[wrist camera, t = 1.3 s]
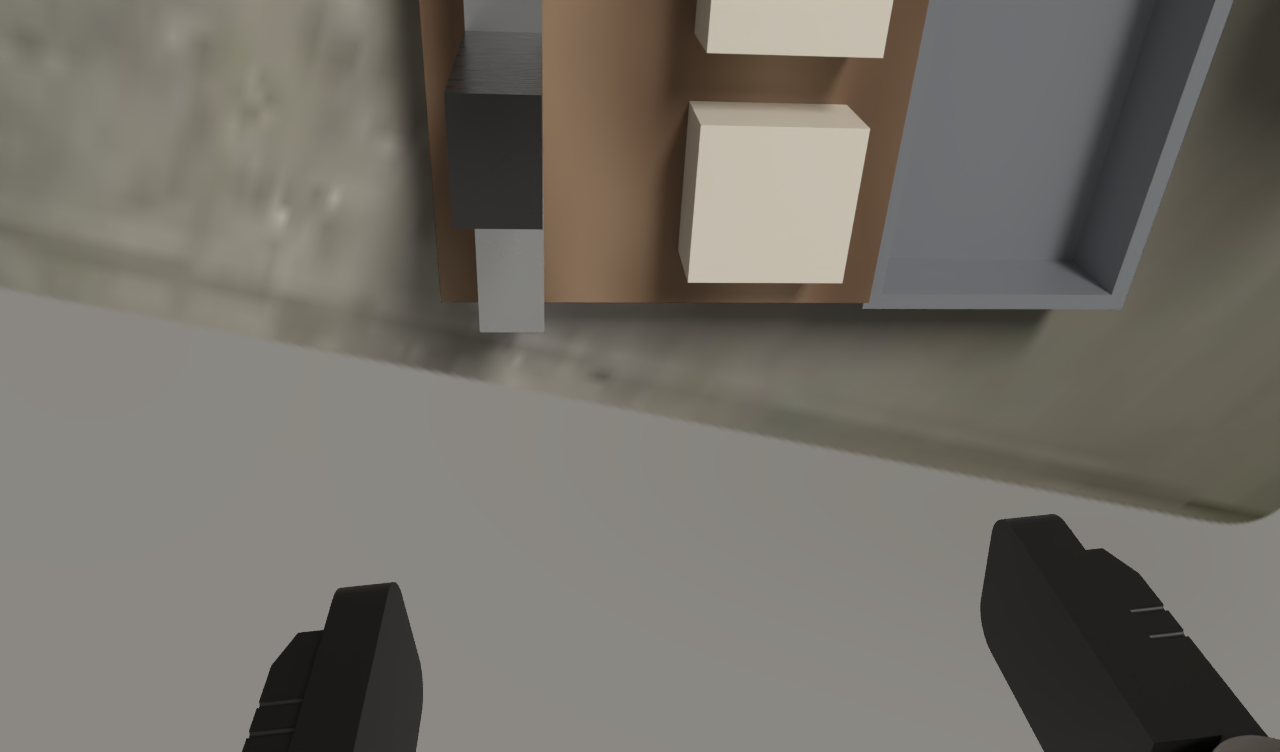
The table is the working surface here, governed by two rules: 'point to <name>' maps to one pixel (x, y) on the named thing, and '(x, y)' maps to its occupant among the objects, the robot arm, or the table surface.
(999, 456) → the table surface
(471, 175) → the bar
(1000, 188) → the box
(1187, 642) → the robot arm
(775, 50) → the cream tile
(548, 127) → the walnut plate
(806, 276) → the cream tile
